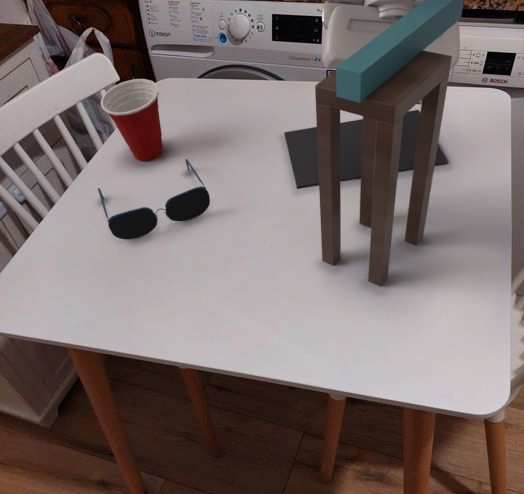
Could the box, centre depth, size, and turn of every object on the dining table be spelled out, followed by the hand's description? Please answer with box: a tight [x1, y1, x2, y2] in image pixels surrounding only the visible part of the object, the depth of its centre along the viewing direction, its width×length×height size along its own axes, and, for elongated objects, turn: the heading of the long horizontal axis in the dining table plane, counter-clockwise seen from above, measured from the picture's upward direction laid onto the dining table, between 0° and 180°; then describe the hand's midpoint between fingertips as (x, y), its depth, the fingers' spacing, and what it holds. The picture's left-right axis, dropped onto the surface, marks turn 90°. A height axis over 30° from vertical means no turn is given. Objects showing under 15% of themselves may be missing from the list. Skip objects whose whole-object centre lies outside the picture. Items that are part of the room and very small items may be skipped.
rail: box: [335, 0, 465, 103], centre depth 57 cm, size 22×3×3 cm, turn 140°
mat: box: [283, 109, 449, 189], centre depth 93 cm, size 26×18×1 cm
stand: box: [314, 50, 452, 287], centre depth 67 cm, size 12×10×26 cm
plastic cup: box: [100, 78, 164, 162], centre depth 96 cm, size 11×11×12 cm
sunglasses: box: [97, 158, 211, 241], centre depth 89 cm, size 17×15×5 cm
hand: (389, 101), depth 76 cm, fingers open, 8 cm apart
